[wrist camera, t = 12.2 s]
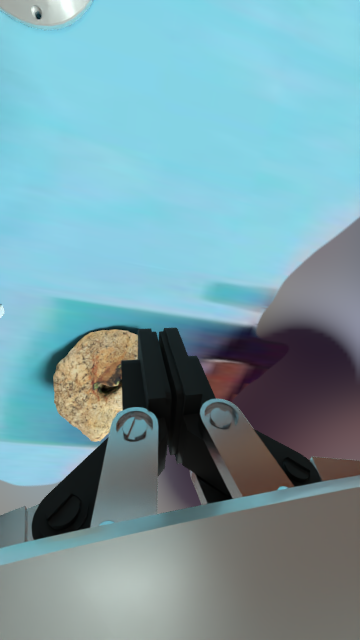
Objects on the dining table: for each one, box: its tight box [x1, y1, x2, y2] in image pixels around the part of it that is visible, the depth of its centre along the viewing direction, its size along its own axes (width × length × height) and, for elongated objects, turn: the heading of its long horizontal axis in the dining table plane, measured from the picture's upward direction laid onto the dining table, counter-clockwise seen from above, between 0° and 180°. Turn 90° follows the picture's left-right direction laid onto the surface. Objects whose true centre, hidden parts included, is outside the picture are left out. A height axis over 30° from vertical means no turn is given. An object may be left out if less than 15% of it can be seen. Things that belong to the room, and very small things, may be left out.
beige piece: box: [53, 329, 138, 441], centre depth 43 cm, size 18×14×8 cm
